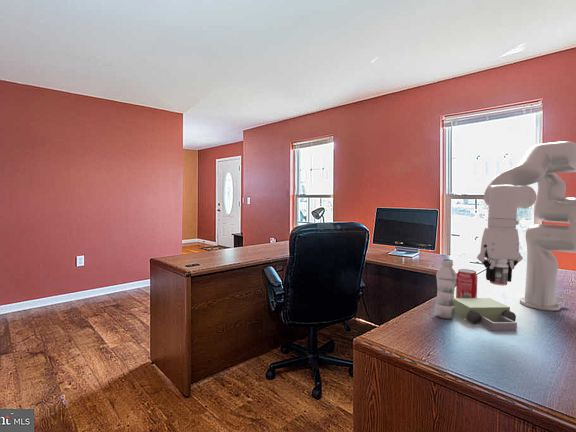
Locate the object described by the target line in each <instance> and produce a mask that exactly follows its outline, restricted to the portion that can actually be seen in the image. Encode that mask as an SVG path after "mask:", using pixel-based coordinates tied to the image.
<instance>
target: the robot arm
mask: <svg viewBox="0 0 576 432" xmlns="http://www.w3.org/2000/svg"><path fill="white" fill-rule="evenodd" d="M556 173H557V174H556ZM558 173H560V174H561V173H576V142H574V141H566V140H565V141H555V142H546V143H539V144H535V145H532V146H531V147H530V148H528V150H527V151H526V153H525V155H524V156H523V158H522V159H521V160H520V162H519V163H518V164H517V166H514V167H512V168H511V167H510V169H507V170H505V171H504V172H502V173H499V174H498V175H496V176H495V177H494V178H492V180H491V181H490V183H489V184H488V185H487V187H486V189H485V191H484V195H483V201H484V203H485V204H486V206H487V207H488V215H487V227H484V230H483V234H482V237H481V242H480V243H481V244H480V252H479V254H478V255H477V256H476V259H477V260H479V262H481V264H482V265H483V266H484V267H485V279H486V280H487V281H489V282H490V281H492V282H494V281H495V269H493V268H494V265H495V262H496V260H501V259H507V260H508V262H507V263H506V264H507V265H508V281H507V283H510V282H512V278H513V277H512V276H513V270H514V269H515V267H516V266H517V265H518V264H519V263H520V262H521V261H523V259H524V258H523V255H521V253H520V239H519V231H518V229H517V226H518V225H519V224H520V223H519V221H518V220H517V214H518V212H517V211H518V209H527V208H531V207H532V206H533V205H534V204H535V206H534V217H535V219H536V220H537V221H541V222H546V223H548V222H549V223H563V224H569V226H568V225H556V224H545V223H544V224H539V223H538V224H534V225H533V224H532V225H530V226H528V228H526V231H525V242H526V254H527V255H526V270H525V271H526V272H525V287H524V288H525V289H524V297H522V298H520V299H519V303H520V304H521V305H523V306H526V307H528V308H532V309H537V310H542V311H550V312H551V311H552V312H553V311H560V310H561V309H562V308H561V305H560V304H559V303H561V302H563V303H565V302H566V303H567V302H568V298H567V297H566V296H559V295H557V287H558V272H559V270H558V269H559V262H558V259H557V257H556V255H554V253H553V251H555V252H563V253H573V254H575V253H576V197H566V193H567V192H566V190H567V185H566V182H565V181H564V180H563V179H562V178H561V177H560V176H559V175H558ZM536 183H537V192H536V191H535V190H534V188H533V187H531V186H529V185H533V184H536Z"/></svg>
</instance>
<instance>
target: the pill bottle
mask: <svg viewBox="0 0 576 432" xmlns="http://www.w3.org/2000/svg"><path fill="white" fill-rule="evenodd" d="M507 262H509V261H508V260H507V259H501V260H496V262H495V265H494V268H493V269H495V281H494V282H492V281H489V283H490V284H492V285H496V286H503V287H504V286H507V285H508V265H507V264H506V263H507Z"/></svg>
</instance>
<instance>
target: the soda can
mask: <svg viewBox="0 0 576 432" xmlns="http://www.w3.org/2000/svg"><path fill="white" fill-rule="evenodd" d="M456 275H457V279H456V284H455V288H456V289H455V298H478V297H477V296H478V275H477V270H473V269H469V268H467V269H466V268H462V269H461V268H460V269H458V271H457V273H456Z"/></svg>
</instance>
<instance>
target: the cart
mask: <svg viewBox="0 0 576 432" xmlns="http://www.w3.org/2000/svg"><path fill="white" fill-rule="evenodd" d="M454 305H455V315H456V316H457V317H460V318H461V319H462V320H464V319H465V321H466V322H467V323H471V324H473V325H478V324H480V325H482V326H484V327H485V326H486V327H485V328H487V329H489V330H490V329H491V330H490V331H492V330H493V332H516V331H517V328H518V326H517V325H518V323H517V322H516V319H517V315H516V314H515V312H512V311H511V307H510V306H507V305H506V304H504V303H501V302H499V301H497V300H495V299H492V298H490V297H477V298H456V297H454Z"/></svg>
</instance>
